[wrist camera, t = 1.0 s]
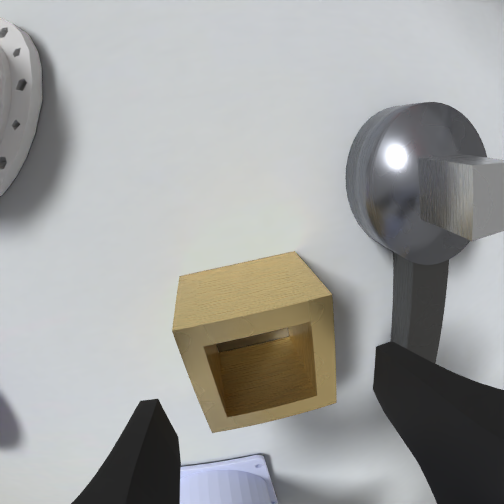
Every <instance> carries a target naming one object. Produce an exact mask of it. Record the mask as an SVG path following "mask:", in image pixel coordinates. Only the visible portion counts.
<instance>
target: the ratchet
mask: <svg viewBox="0 0 504 504" xmlns="http://www.w3.org/2000/svg"><path fill="white" fill-rule="evenodd" d="M346 190H347V196H348V200H349V204H350V207H351V210H352V212H353V214H354V217H355V218H356V220H357V222H358V224H359V225H360V226H361V228H362V229H363V230H364V231H365V232H366V233H367V234H368V235H369V236H370V237H371V238H372V239H374V240H375V241H377V242H378V243H380V244H382V245H383V246H385V247H387V248H388V249H390V250H392V251H393V253H394V278H393V312H392V330H391V341H392V342H395V343H397V344H398V345H400V346H402V347H404V348H406V349H408V350H410V351H412V352H414V353H415V354H417V355H419V356H421V357H423V358H425V359H427V360H429V361H431V362H433V363H435V362H436V357H437V351H438V346H439V340H440V334H441V328H442V321H443V314H444V307H445V298H446V289H447V278H448V266H449V259H450V258H452V257H454V256H455V255H456V254H458V253H459V252H460V251H461V250H462V249H463V248H464V247H465V246H466V245H467V244H468V243H469V242H470V240H471V241H474V240H477V239H480V238H483V237H486V236H489V235H492V234H495V233H498V232H502V231H504V160H499V159H493V158H487V155H486V151H485V148H484V146H483V143H482V141H481V138H480V136H479V134H478V133H477V131H476V129H475V128H474V126H473V125H472V124H471V123H470V121H469V120H468V119H467V118H466V117H465V116H464V115H463V114H462V113H460V112H459V111H457V110H456V109H454V108H452V107H450V106H448V105H445V104H442V103H436V102H427V103H418V104H409V105H402V106H394V107H390V108H387V109H384V110H382V111H380V112H378V113H377V114H375V115H374V116H372V117H371V118H370V119H369V120H368V121H367V122H366V123H365V124H364V125H363V126H362V128H361V129H360V130H359V132H358V134H357V135H356V137H355V139H354V141H353V144H352V146H351V149H350V152H349V155H348V160H347V166H346Z"/></svg>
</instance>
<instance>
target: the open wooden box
mask: <svg viewBox="0 0 504 504" xmlns="http://www.w3.org/2000/svg"><path fill="white" fill-rule="evenodd" d="M287 327H288V331H289V336H288V337H284V338H280V339H276V340H272V341H268V342H264V343H260V344H255V345H251V346H246V347H242V348H237V349H233V350H228V351H223V352H219V351H218V348H217V343H222V342H227V341H231V340H236V339H240V338H245V337H249V336H254V335H258V334H262V333H267V332H271V331H275V330H279V329H283V328H287ZM172 331H173V334H174V337H175V340H176V343H177V346H178V348H179V351H180V354H181V357H182V359H183V362H184V365H185V367H186V370H187V373H188V375H189V378H190V380H191V383H192V386H193V388H194V391H195V393H196V396H197V398H198V401H199V403H200V405H201V408H202V410H203V413H204V415H205V417H206V420H207V422H208V424H209V427H210V429H211V431H212V433H215V432H221V431H226V430H232V429H237V428H242V427H247V426H251V425H256V424H260V423H265V422H269V421H273V420H277V419H281V418H285V417H289V416H293V415H297V414H300V413H304V412H308V411H311V410H314V409H318V408H321V407H324V406H328V405H331V404H334V403H336V359H335V334H334V315H333V300H332V294H331V292H330V291H329V290H328V289H327V288H326V287H325V286H324V284H323V283H322V282H321V281H320V280H319V279H318V277H317V276H316V275H315V274H314V273H313V272H312V271H311V269H310V268H309V267H308V266H307V265H306V264H305V263H304V261H303V260H302V259H301V258H300V257H299V256H298V255H297V253H296V252H295V251H294V252H289V253H285V254H280V255H275V256H271V257H266V258H262V259H257V260H253V261H248V262H244V263H239V264H234V265H230V266H225V267H220V268H216V269H211V270H207V271H202V272H197V273H193V274H188V275H183V276H179V283H178V290H177V298H176V305H175V313H174V321H173V329H172Z"/></svg>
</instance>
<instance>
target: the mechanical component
mask: <svg viewBox="0 0 504 504" xmlns="http://www.w3.org/2000/svg"><path fill="white" fill-rule="evenodd" d="M42 100H43V97H42V66H41V62H40V58H39V54H38V51H37V49H36V47H35V45H34V43H33V42H32V40H31V38H30V36H29V34H27V33H26V32H24V31H23V30H21V29H20V28H18V27H17V26H16V25H14V24H13V23H11V22H9V21H7V20H5V19H3V18H1V17H0V196H1V195H2V194H3V193H4V192H5V191H6V190H7V189H8V187H9V186H10V184H11V183H12V182H13V180H14V179H15V178H16V176H17V174H18V173H19V171H20V169H21V167H22V165H23V163H24V161H25V159H26V157H27V155H28V152H29V149H30V146H31V144H32V141H33V138H34V136H35V133H36V128H37V123H38V118H39V113H40V108H41V104H42Z"/></svg>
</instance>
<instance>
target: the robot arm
mask: <svg viewBox="0 0 504 504" xmlns="http://www.w3.org/2000/svg"><path fill="white" fill-rule="evenodd" d="M373 390H374V392H375V395H376V397H377V399H378V401H379V403H380V405H381V407H382V409H383V411H384V413H385V414H386V416H387V417H388V419H389V420H390V422H391V423H392V425H393V426H394V427H395V429H396V430H397V432H398V433H399V435H400V436H401V438H402V439H403V441H404V442H405V444H406V445H407V447H408V448H409V449H410V451H411V452H412V454H413V455H414V457H415V459H416V460H417V462H418V464H419V465H420V467H421V469H422V471H423V473H424V475H425V477H426V479H427V481H428V484H429V486H430V488H431V490H432V493H433V495H434V497H435V499H436V502H437V504H504V390H501V389H497V388H494V387H491V386H487V385H484V384H481V383H478V382H475V381H473V380H470V379H468V378H465V377H463V376H460V375H458V374H456V373H453V372H451V371H449V370H447V369H445V368H443V367H441V366H439V365H437V364H435V363H433V362H431V361H429V360H427V359H425V358H423V357H421V356H419V355H417V354H415V353H414V352H412V351H410V350H408V349H406V348H404V347H402V346H400V345H398V344H397V343H395V342H392V341H391V342H388V343H385V344H382V345H380V346H377V347H376V357H375V371H374V384H373ZM71 504H278V500H277V497H276V494H275V491H274V488H273V484H272V481H271V478H270V475H269V471H268V468H267V465H266V461H265V458H264V456H262V455H253V456H249V457H243V458H238V459H233V460H227V461H221V462H214V463H208V464H200V465H192V466H184V467H181V462H180V451H179V441H178V436H177V434H176V432H175V430H174V429H173V427H172V425H171V423H170V421H169V419H168V417H167V415H166V414H165V412H164V410H163V408H162V406H161V404H160V402H159V400H158V399H153V400H145V401H140V403H139V404H138V406H137V408H136V409H135V411H134V413H133V415H132V416H131V418H130V420H129V422H128V424H127V425H126V427H125V429H124V431H123V432H122V434H121V436H120V437H119V439H118V441H117V442H116V444H115V446H114V447H113V449H112V451H111V452H110V454H109V456H108V457H107V459H106V460H105V461H104V463H103V464H102V466H101V467H100V469H99V470H98V472H97V473H96V475H95V476H94V477H93V479H92V480H91V481H90V483H89V484H88V485H87V486H86V488H85V489H84V490H83V491H82V493H81V494H80V495H79V496H78V497H77V498H76V499H75V500H74V501H73V502H72V503H71Z"/></svg>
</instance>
